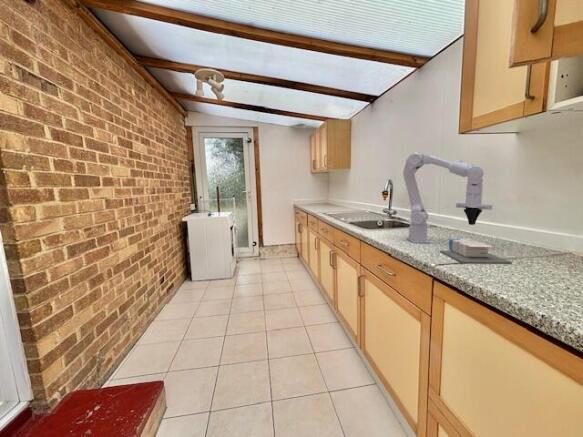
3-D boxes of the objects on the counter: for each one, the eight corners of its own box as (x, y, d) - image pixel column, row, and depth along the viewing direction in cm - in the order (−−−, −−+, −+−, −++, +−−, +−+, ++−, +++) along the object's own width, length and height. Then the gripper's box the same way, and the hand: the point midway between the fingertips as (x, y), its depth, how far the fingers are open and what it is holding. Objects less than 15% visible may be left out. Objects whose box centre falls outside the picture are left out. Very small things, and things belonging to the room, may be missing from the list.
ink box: (448, 249, 109) (469, 259, 94) (449, 238, 108) (470, 246, 94) (469, 249, 108) (493, 259, 94) (470, 238, 108) (494, 246, 93)
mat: (439, 251, 108) (439, 250, 108) (481, 252, 106) (481, 250, 106) (461, 263, 92) (462, 261, 92) (511, 263, 90) (512, 262, 90)
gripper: (452, 194, 117) (450, 223, 119) (485, 195, 104) (483, 227, 106) (462, 193, 120) (460, 222, 122) (496, 194, 106) (493, 226, 108)
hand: (471, 224), depth 114 cm, fingers closed
